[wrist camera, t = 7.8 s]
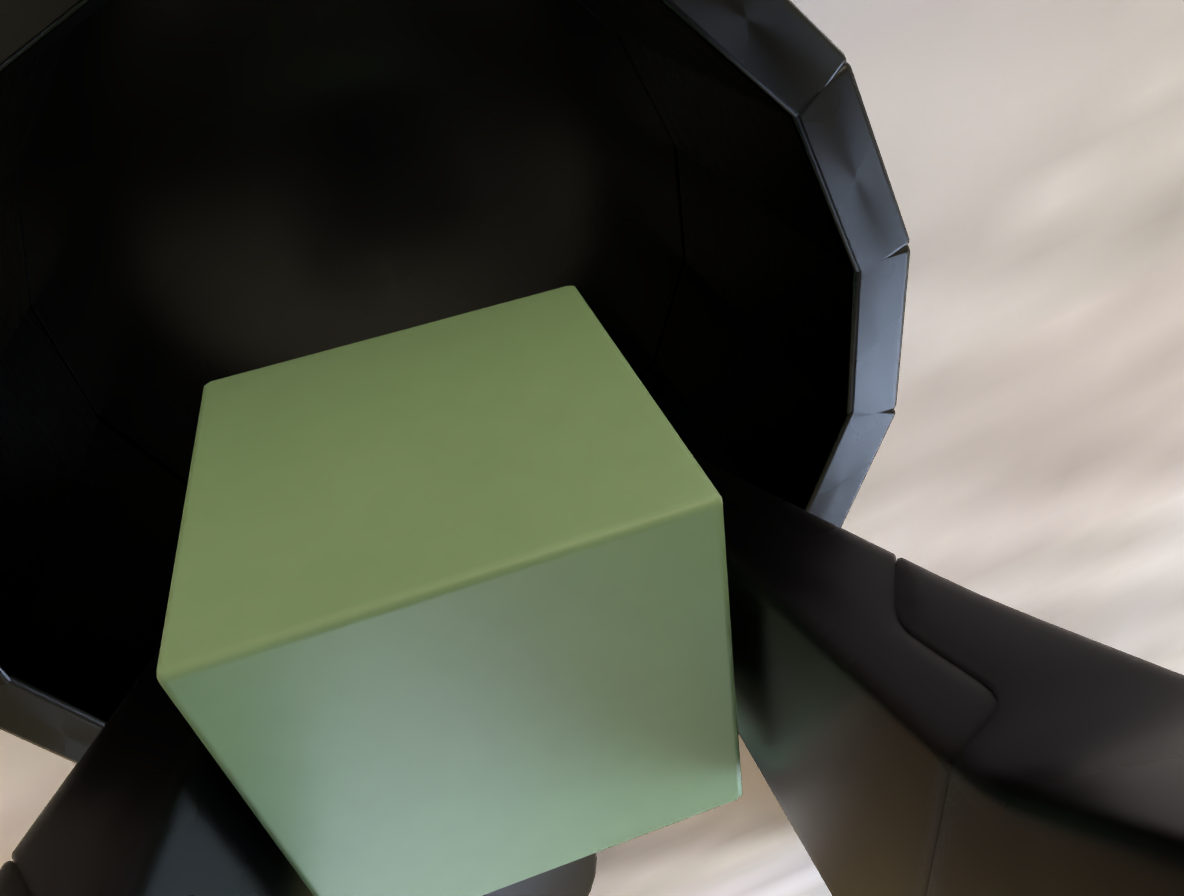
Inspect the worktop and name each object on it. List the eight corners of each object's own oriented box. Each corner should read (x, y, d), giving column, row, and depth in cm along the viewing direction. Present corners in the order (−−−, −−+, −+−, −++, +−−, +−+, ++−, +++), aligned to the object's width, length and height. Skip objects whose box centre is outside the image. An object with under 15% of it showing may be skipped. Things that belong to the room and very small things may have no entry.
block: (574, 280, 9) (727, 495, 6) (619, 545, 11) (746, 800, 8) (200, 381, 8) (148, 680, 5) (330, 638, 11) (347, 950, 8)
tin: (686, -229, 12) (964, -301, 7) (726, 448, 20) (876, 645, 15) (-256, -66, 10) (-773, -9, 5) (183, 615, 18) (142, 906, 13)
